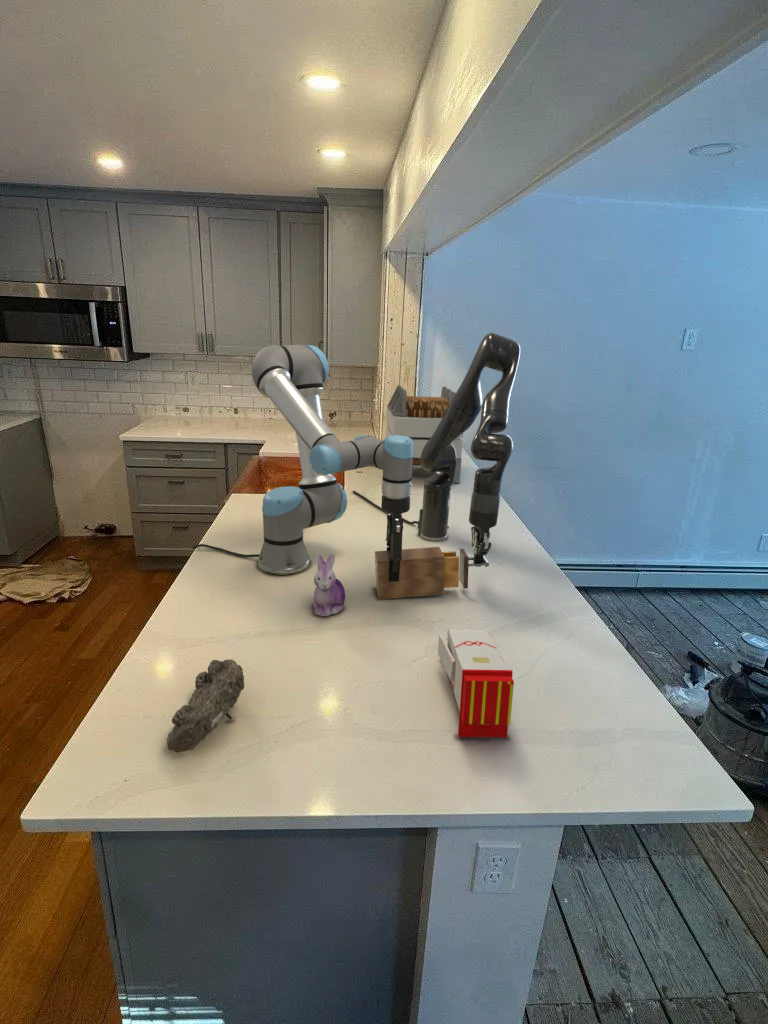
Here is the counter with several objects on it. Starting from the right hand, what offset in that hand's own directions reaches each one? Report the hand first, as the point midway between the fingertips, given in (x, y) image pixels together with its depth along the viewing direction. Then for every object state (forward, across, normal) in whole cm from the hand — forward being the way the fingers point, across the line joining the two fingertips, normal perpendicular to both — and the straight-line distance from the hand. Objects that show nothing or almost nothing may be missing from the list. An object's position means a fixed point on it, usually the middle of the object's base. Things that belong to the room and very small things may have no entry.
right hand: (477, 565), depth 158 cm
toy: (+8, -44, +12) cm, 46 cm away
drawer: (+6, 0, +8) cm, 10 cm away
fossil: (+8, -50, +63) cm, 81 cm away
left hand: (+3, 0, +24) cm, 24 cm away
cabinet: (+8, 0, +19) cm, 20 cm away
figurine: (+9, -9, +41) cm, 43 cm away
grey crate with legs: (+10, +122, -3) cm, 122 cm away
